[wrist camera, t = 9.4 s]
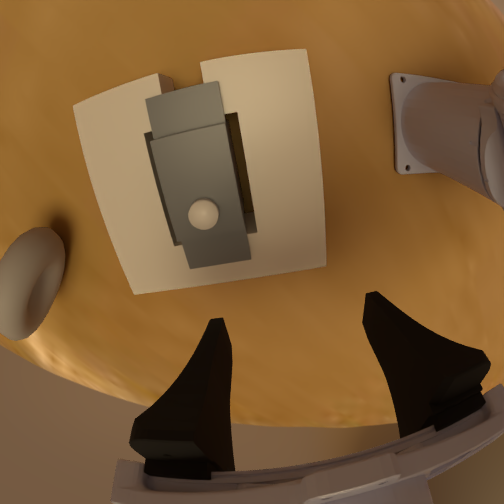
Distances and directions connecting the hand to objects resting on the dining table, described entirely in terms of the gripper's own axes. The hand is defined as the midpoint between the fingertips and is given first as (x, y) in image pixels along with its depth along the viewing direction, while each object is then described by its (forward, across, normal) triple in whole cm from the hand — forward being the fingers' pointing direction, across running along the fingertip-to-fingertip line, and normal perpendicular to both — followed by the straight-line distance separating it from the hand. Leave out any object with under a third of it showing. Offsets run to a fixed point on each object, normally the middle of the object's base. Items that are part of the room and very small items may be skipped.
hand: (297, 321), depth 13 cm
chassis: (+9, +4, -6) cm, 12 cm away
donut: (+10, +20, -2) cm, 22 cm away
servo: (+10, +4, -6) cm, 12 cm away
